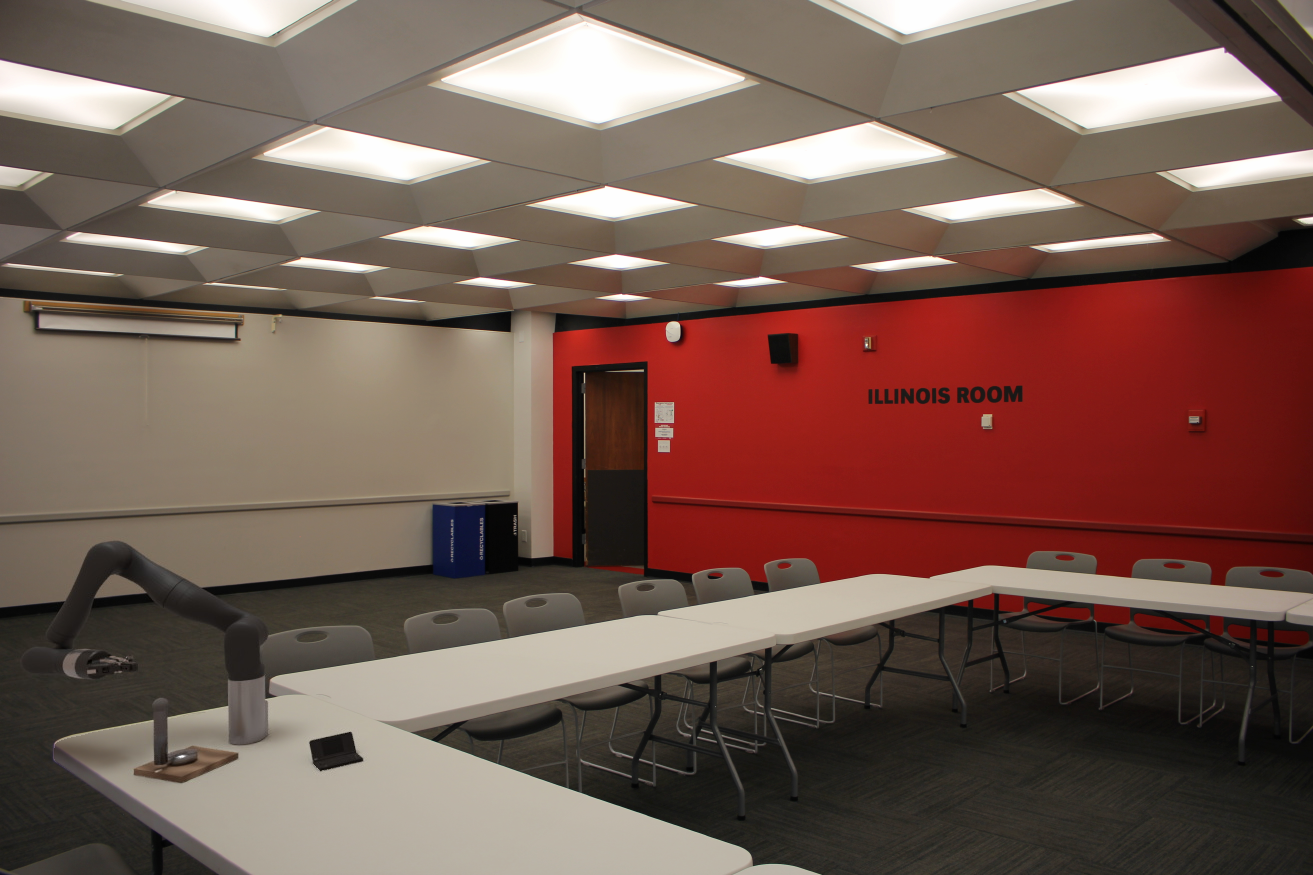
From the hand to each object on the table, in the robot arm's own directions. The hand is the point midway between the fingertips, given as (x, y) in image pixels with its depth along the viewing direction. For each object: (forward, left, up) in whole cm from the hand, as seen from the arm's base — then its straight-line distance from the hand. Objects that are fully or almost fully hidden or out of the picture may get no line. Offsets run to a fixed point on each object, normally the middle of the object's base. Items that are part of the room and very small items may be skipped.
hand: (135, 667), depth 221 cm
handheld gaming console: (-19, +47, -25) cm, 57 cm away
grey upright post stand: (0, +13, -23) cm, 26 cm away
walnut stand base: (-3, +14, -25) cm, 29 cm away
